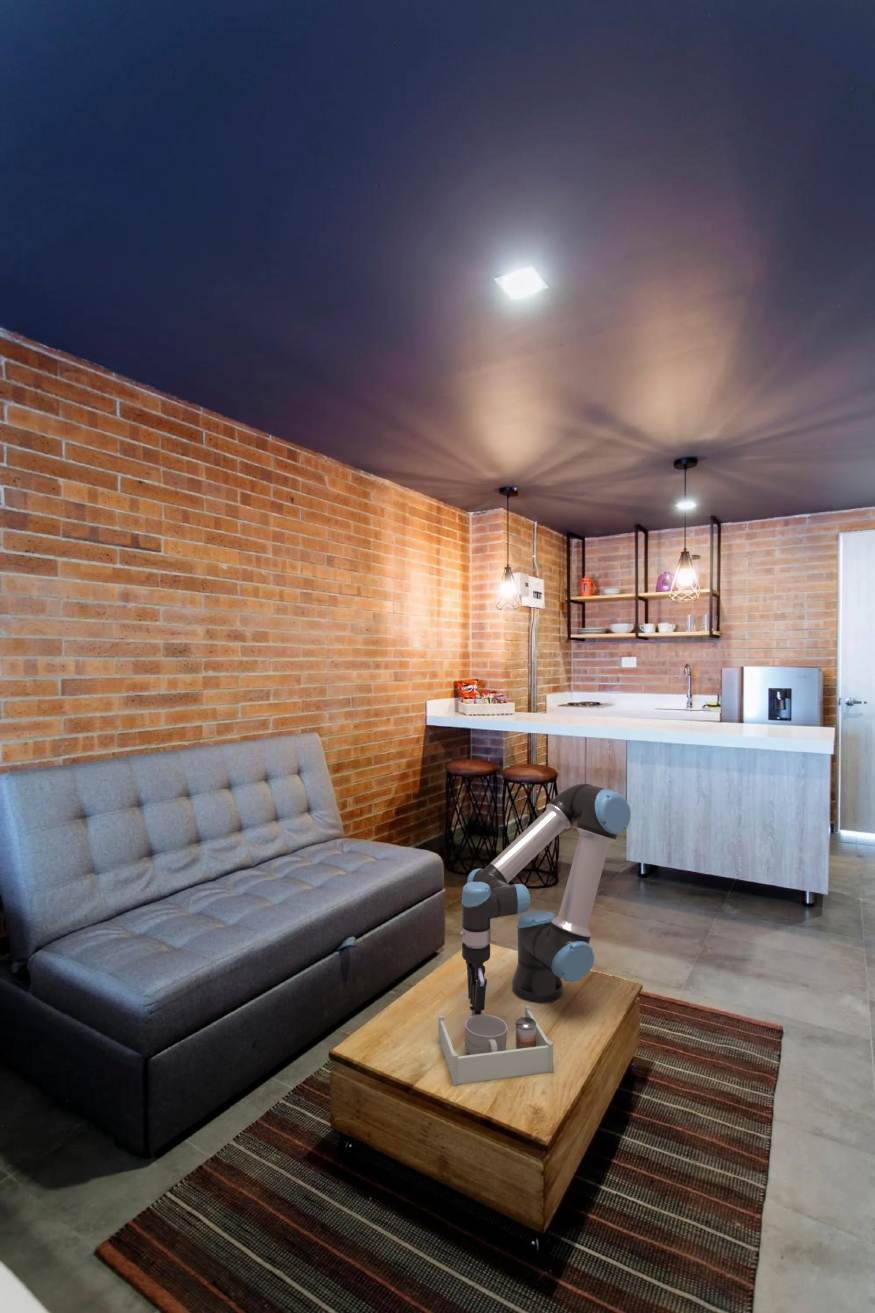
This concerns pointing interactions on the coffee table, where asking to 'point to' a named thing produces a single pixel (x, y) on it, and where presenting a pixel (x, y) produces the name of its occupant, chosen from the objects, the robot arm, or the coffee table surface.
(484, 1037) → the teacup
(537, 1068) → the crate
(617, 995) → the coffee table surface
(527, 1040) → the tin can
